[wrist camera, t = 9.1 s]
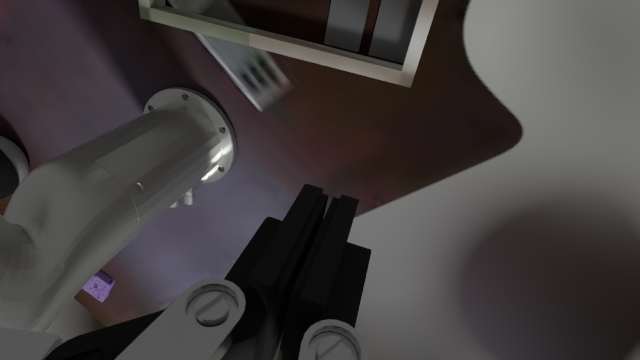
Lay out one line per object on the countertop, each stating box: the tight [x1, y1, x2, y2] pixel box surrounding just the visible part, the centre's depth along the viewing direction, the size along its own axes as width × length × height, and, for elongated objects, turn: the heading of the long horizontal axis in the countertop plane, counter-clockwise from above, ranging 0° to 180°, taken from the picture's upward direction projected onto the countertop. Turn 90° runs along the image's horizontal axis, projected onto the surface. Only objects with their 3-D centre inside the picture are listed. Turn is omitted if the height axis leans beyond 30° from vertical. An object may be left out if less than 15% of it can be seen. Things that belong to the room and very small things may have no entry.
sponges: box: [82, 270, 115, 302], centre depth 67 cm, size 7×13×2 cm, turn 55°
